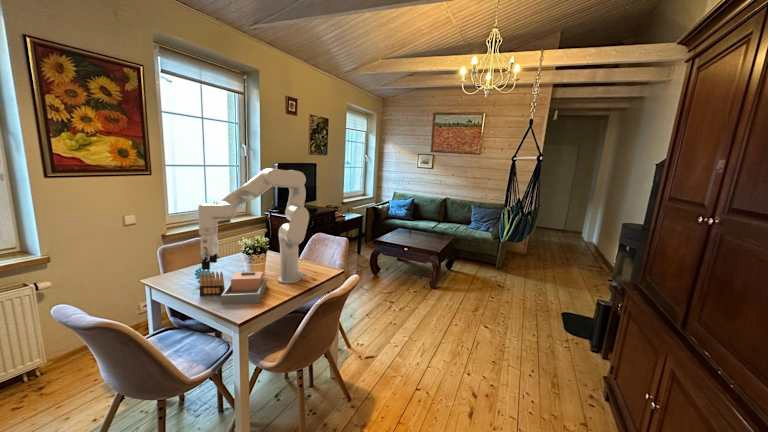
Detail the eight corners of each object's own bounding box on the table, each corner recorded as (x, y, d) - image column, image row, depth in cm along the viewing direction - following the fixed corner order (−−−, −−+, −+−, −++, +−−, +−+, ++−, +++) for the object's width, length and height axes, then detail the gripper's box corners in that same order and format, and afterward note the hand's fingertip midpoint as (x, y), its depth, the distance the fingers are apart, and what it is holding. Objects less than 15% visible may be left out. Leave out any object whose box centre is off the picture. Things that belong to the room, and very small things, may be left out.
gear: (202, 284, 153) (192, 268, 155) (195, 291, 155) (185, 275, 156) (220, 279, 164) (210, 264, 166) (213, 286, 165) (203, 271, 167)
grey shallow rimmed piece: (259, 303, 141) (258, 293, 140) (221, 304, 138) (220, 295, 137) (266, 285, 160) (266, 277, 159) (233, 286, 157) (233, 278, 156)
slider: (260, 289, 151) (259, 276, 149) (231, 290, 148) (230, 277, 147) (263, 282, 159) (263, 269, 158) (236, 283, 157) (235, 270, 155)
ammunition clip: (199, 296, 145) (198, 272, 143) (201, 294, 147) (199, 270, 144) (223, 295, 147) (222, 271, 144) (225, 293, 148) (224, 270, 146)
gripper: (211, 234, 133) (212, 272, 136) (223, 226, 150) (223, 260, 153) (192, 234, 132) (193, 272, 134) (206, 226, 148) (207, 260, 151)
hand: (209, 265), depth 144 cm, fingers open, 9 cm apart
